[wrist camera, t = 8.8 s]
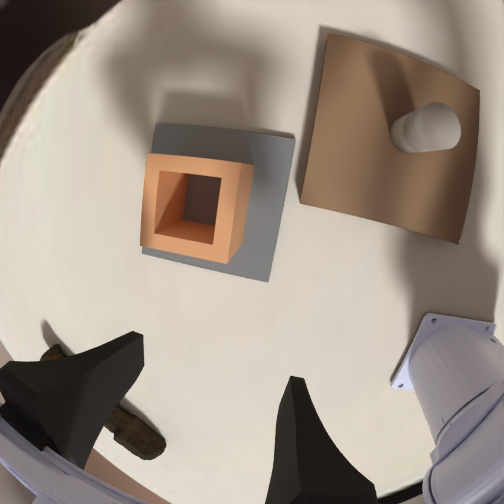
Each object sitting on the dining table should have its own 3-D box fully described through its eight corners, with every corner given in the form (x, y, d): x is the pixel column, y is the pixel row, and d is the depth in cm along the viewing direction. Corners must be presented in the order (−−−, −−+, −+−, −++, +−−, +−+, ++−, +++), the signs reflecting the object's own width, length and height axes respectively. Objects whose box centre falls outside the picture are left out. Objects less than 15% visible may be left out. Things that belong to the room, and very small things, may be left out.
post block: (469, 94, 14) (518, 76, 8) (448, 239, 17) (497, 266, 11) (326, 42, 15) (336, -7, 9) (299, 201, 19) (301, 215, 12)
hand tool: (52, 352, 28) (31, 370, 24) (58, 338, 27) (35, 357, 23) (158, 445, 30) (146, 469, 26) (172, 438, 29) (160, 465, 24)
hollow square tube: (254, 165, 18) (241, 163, 14) (242, 243, 20) (226, 264, 15) (178, 155, 18) (147, 153, 14) (170, 230, 20) (140, 245, 16)
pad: (295, 140, 17) (295, 139, 17) (268, 280, 20) (267, 282, 20) (158, 124, 18) (156, 123, 18) (144, 252, 21) (142, 253, 21)
